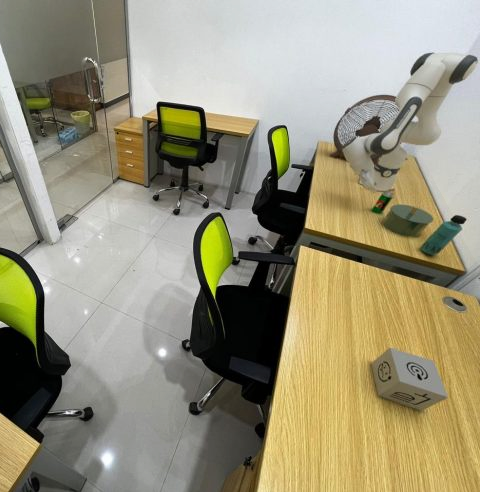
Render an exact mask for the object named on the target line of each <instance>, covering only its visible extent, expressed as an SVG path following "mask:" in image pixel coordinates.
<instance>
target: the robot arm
mask: <svg viewBox="0 0 480 492" xmlns="http://www.w3.org/2000/svg"><path fill="white" fill-rule="evenodd" d="M478 60H479V59H478V57H477V56H476V55H472V54H463V53H457V52H436V53H435V52H427V53H424V54H422V55H420V56H419V57H418V58H417V59H416V60H415V62H414V63H413V65H412V67H411V68H410V71H409V74H410V77H409V79H407V81H406V82H405V84H403V86H402V87H401V89H400V90H399V91H398V93H397V95H396V99H395V102H394V103H395V104H396V105H395V107H397V108H398V110H399V112H398V111H397V112H398V113H396V114H397V115H395V116H394V118H395V119H394V120H392V119H390V121H388V120H387V121H388V122H386V121H385V122H384V123H383V125H381V127H380V128H381V130H379V132H380V133H374V134H370V135H367V136H363V137H359V136H358V137H357V136H356V137H353V138H352V137H351V138H349V139H350V140H349V139H347V141H345V142H346V143H345V142H344V143H343V147H342V151H343V154H344V156H343V157H344V159H345V160H346V162H348V163H349V167H350V169H351V170H352V172H353V174H354V175H355V176H357V175H358V176H359V181H358V184H359V185H361V186H363V188H364V189H365V190H369V191H370V193H371V194H376V193H377V192H378V191H379V192H385V191H388V192H389V191H390V190H394V189H395V187H394V184H395V183H396V181H397V179H398V177H399V176H398V175H397V174H398V173H399V172H400V169H401V166H403V164H404V162H405V161H406V159H407V157H408V152H407V151H406V150H405V148H403V147H402V146H401V144H402V143H404V144H405V143H406V144H409V145H415V146H429V145H432V144H434V143H435V142H436V141H437V140H438V139H439V138H440V137H441V134H442V129H441V127H440V125H439V124H438V119H437V115H438V113H439V110H440V107H441V106H442V104H443V102H444V101H445V99H446V98H447V96H448V94H449V93H450V92H451V90H452V89H453V86H454V84H458V83H461V82H463V81H465V80H466V79H468V77H469V76H470V75H471V74H472V73H473V72H474V71H475V69H476V68H477V64H478V63H479V61H478ZM415 117H416V118H417V120H416V121H414V120H413V119H414V118H415ZM401 142H402V143H401ZM400 143H401V144H400ZM372 154H378V155H382V157H380V158H379V159H380V160H379V162H378V163H377V164H376V165H375V166H374V163H373V161H372V160H371V158H370V155H372Z"/></svg>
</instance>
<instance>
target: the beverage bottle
mask: <svg viewBox="0 0 480 492" xmlns="http://www.w3.org/2000/svg"><path fill="white" fill-rule="evenodd" d="M467 221H468V220H467V218H466V216H463V215H459V214H455V215H453V216H452V217H450V219H449V220H446V221H443V222H441V224H440V225H439V227H437V229H435V231H433V232H432V233H431V234H430V236H428V238H427V239H426V240H425V241H424V242H423V243H422V244H421V245H420V250H421V251H422V252H423V253H426V254H428V255H430V256H431V255H433V256H435V255H438V254H440V253H441V251H443V250H444V249H445V248H446V247H447V246H448V245H449V244H450V242H452V241H453V239H454V238H456V237H457V235H458V234H459V233H460V232H461V231H462V230H463V226H462V225H464V224H465V223H466V222H467Z"/></svg>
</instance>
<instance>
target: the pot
mask: <svg viewBox="0 0 480 492" xmlns="http://www.w3.org/2000/svg"><path fill="white" fill-rule="evenodd" d="M382 226H384V227H385V228H386V229H387V230H388V231H390V232H392V233H395V234H397V235H400V236H403V237H413V238H414V237H418V236H421V234H422V233H423V231H424V230H425V229H426V228H427V227H428V226H429V224H418V223H413V222H409V221H406V220H403V219H401V218H399V217H397V216H396V215H394V214H393V213H392V212H391V210H389V211H388V213H387V214H386V215H385V217H384V219H382Z"/></svg>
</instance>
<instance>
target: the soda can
mask: <svg viewBox="0 0 480 492" xmlns="http://www.w3.org/2000/svg"><path fill="white" fill-rule="evenodd" d="M394 195H395V193H393V192H392V191H389V190H388V191H383V192H382V193H381V194H380V196H379V197H378V199H377V200H376V202H375V203H374V205H373V207H372V208H371V212H372V213H374V214H376V215H382V214H383V213H384V211H385V210H386V208H387V207H388V206H389V204H390V202H391V201H392V200H393V198H394Z"/></svg>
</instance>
